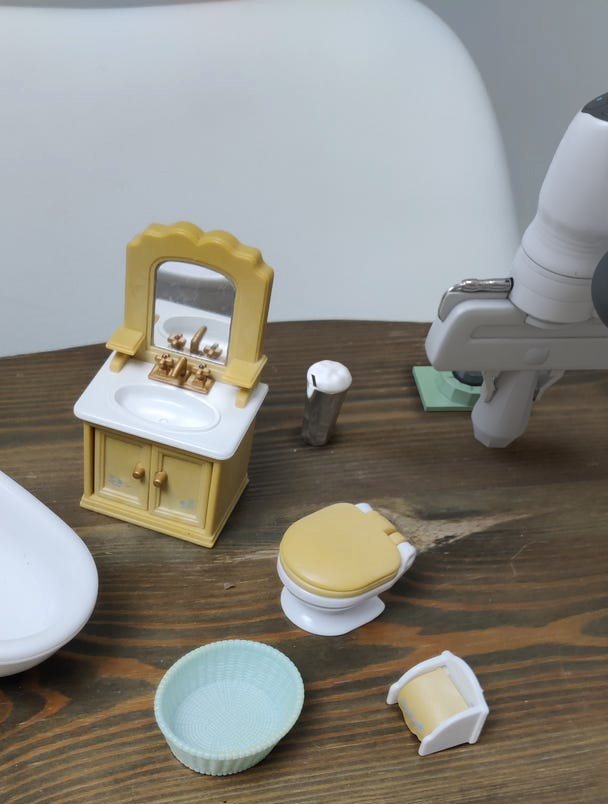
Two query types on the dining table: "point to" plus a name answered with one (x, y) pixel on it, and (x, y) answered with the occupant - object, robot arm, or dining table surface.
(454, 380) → the green base push button
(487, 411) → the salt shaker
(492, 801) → the dining table surface
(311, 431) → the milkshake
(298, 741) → the dining table surface
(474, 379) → the button
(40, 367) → the dining table surface
